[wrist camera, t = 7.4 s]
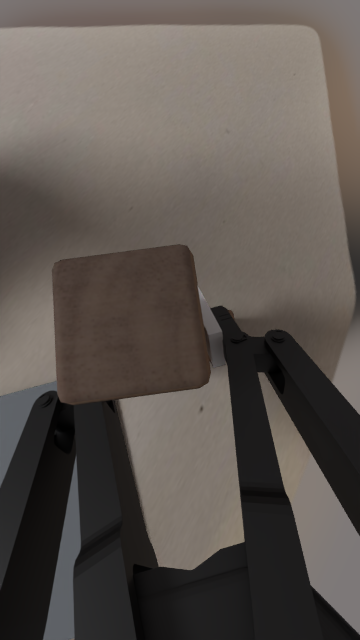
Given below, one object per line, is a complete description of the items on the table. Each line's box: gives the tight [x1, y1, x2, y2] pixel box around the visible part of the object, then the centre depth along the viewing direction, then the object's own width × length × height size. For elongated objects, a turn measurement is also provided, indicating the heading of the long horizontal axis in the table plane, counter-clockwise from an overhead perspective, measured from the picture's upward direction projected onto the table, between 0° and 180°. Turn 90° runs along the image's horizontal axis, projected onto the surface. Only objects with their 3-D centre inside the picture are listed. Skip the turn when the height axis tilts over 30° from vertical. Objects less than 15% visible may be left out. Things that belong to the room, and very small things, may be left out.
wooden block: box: [52, 244, 235, 405], centre depth 15 cm, size 9×4×18 cm, turn 98°
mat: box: [0, 381, 81, 640], centre depth 22 cm, size 24×16×1 cm, turn 15°
